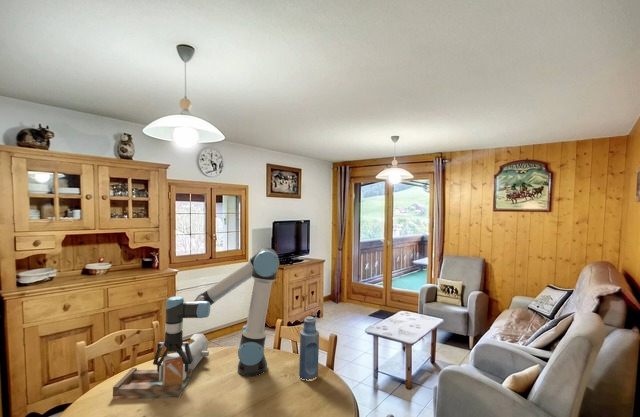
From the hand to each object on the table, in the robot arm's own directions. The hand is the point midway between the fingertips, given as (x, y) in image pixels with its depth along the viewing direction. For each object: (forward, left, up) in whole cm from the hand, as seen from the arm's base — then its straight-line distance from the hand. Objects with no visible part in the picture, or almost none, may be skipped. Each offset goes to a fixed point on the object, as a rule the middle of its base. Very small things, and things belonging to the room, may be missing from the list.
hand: (172, 378), depth 150 cm
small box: (0, 0, -2) cm, 2 cm away
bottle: (-64, -6, -4) cm, 64 cm away
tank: (-3, -21, -4) cm, 22 cm away
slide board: (+8, 0, -4) cm, 9 cm away
